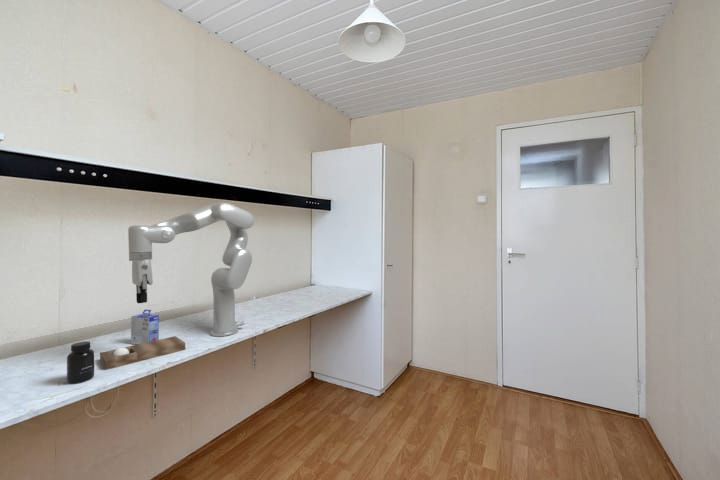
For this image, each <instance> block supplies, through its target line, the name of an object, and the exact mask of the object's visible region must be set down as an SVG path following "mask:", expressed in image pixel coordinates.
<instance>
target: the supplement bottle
mask: <svg viewBox="0 0 720 480" xmlns="http://www.w3.org/2000/svg"><path fill="white" fill-rule="evenodd" d="M94 376H95V351H94V350H93V349H92V347H91V342H90V341H79V342H75V343H72V344H71V345H70V353H69V354H67V356H66V382H67V383H68V384H73V385H74V384H80V383H84V382H87V381H89V380H91V379H93V378H94Z"/></svg>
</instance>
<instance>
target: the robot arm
mask: <svg viewBox="0 0 720 480" xmlns="http://www.w3.org/2000/svg"><path fill="white" fill-rule="evenodd" d="M221 221H223V222H225V223H226V227H228V230H229V233H230V237H229V240H228V243H227V246H226V248H225V250H224V253H223V255H222V263H223V264H224V265H225V266H228V267H220V268H217V269H215V270H214V271H213V272H212V274H211V277H210V279H211V281H210V283H211V287H212V294H213V329H211V330H210V331H209V334H210V336H213V337H227V336H232V335H234V334H236V333H238V332H239V327H241V326H245V321H244V320H243V321H236V319H235V318H236V316H235V315H236V313H235V311H236V305H235V304H236V301H235V300H236V297H235V296H236V295H235V290H238V289H240V288H241V287H242V286H243V284H244V283H245V280H246V278H247V276H248V273H249V270H250V269H251V266H252V262H253V255H252V252H251V251H250V250H249V249H247V245H248V241H249V235H248V232H247V230H249V229H251V228H252V227H253V226H254V224H255V216H254V215H253V214H252V213H251V212H249V211H248V210H245V209H243V208H241V207H239V206H236V205H234V204H232V203H229V202H223V201H222V202H221V201H220V202H214V203H211V204H208V205H205V206H203V207H199V208H197V209H194V210H192V211H189V212H186V213H183V214H181V215H178V216H175V217H172V218H168V219H165V220H162V221H161V222H160V221H159V222H158V223H155V224H152V225H142V224H141V225H130V226H129V227H128V229H127V232H128V233H127V234H128V236H127V238H128V259H129V260H128V261H129V262H131V279H132V284H133V285H135V290H136V303H137V304H144V303H148V285H150V286H152V285H153V282H154V281H153V270H152V269H153V268H152V262H151V261H152V260H153V244H169V243H170V242H173V240H175V237H176V235H177V236H178V235H180V234H184V233H189V232H190V233H191V232H195V231H198V230H200V229H203V228H205V227H207V226H210V225H213V224H214V223H217V222H221Z"/></svg>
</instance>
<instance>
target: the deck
mask: <svg viewBox="0 0 720 480" xmlns="http://www.w3.org/2000/svg"><path fill="white" fill-rule="evenodd" d="M123 348H126V349H128V350H129V354H125V355H121V356H117V357H114V356H113V353H114V351H115V350H117V349H118V348H115V349H112V350H107V351H103V352H102V351H101V352H100V353H99V361H100V362H101V364H102V365H103V367H104V369H105V370H106V371H107V370H110V369H114V368H118V367H122V366H126V365H130V364H134V363H139V362H143V361H146V360H150V359H155V358H158V357H162V356H166V355H169V354H172V353H173V354H174V353H177V352H180V351H181V352H182V351H186V342H185V341H184V340H182V339H181V338H179V337H177V335H176V336H170V337H166V338H165V337H164V338H162V339H159V340H156V341H151V342H146V343H142V344H132V345H130V346H124V347H123Z"/></svg>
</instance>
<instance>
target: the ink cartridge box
mask: <svg viewBox="0 0 720 480" xmlns="http://www.w3.org/2000/svg"><path fill="white" fill-rule="evenodd" d="M151 311H152V309H144V310H143V311H142V313H141V314H136V315H133V316H130V320H131V321H130V344H131V345H137V344H142V343H146V342H151V341H156V340H160V339H159V338H160V334H159V333H160V330H159V328H160V327H159V326H160V325H159V323H160V321H159V320H160V317H159V314H151Z"/></svg>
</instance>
